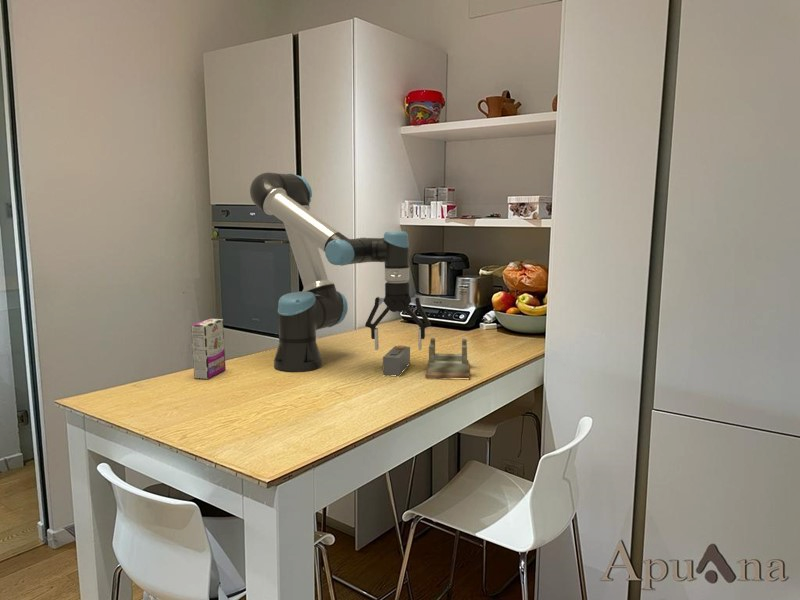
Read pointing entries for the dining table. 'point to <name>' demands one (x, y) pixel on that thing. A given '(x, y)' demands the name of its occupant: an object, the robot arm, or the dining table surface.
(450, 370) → the rack
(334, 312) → the robot arm
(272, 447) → the dining table surface
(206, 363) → the candy bar box
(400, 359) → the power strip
